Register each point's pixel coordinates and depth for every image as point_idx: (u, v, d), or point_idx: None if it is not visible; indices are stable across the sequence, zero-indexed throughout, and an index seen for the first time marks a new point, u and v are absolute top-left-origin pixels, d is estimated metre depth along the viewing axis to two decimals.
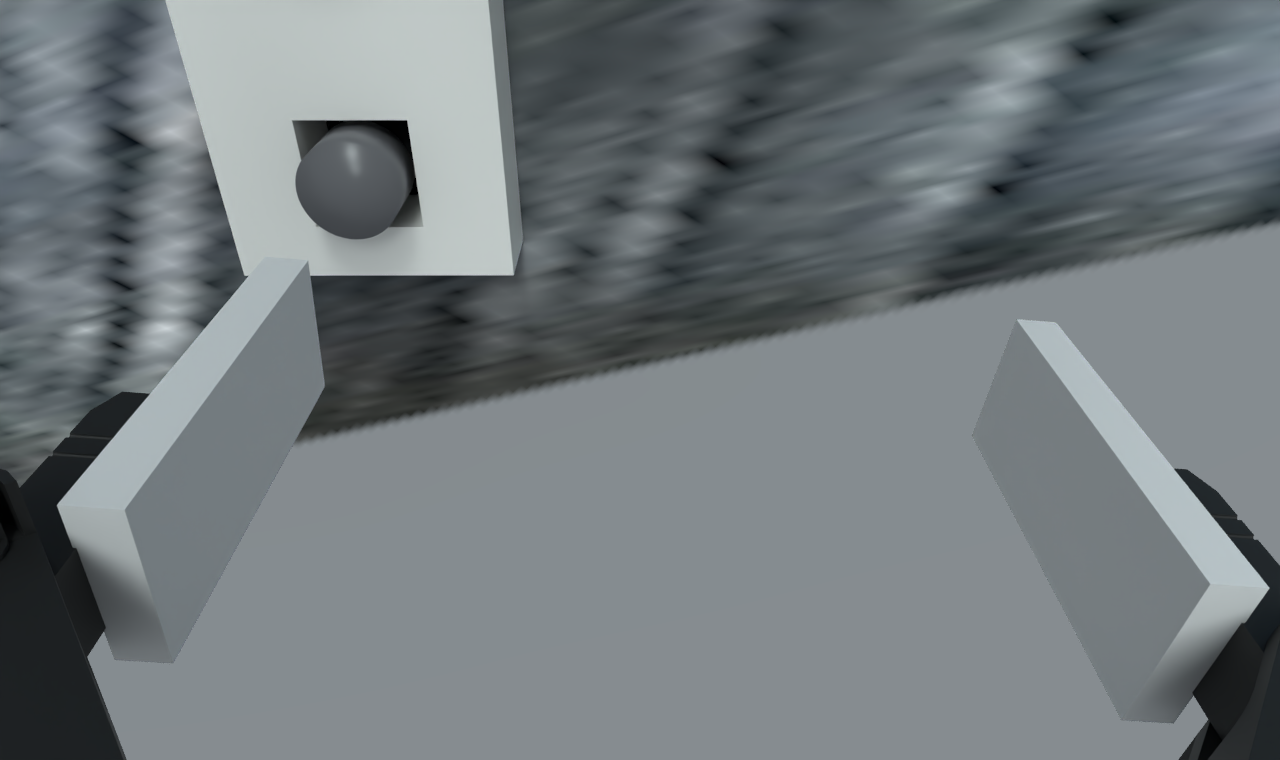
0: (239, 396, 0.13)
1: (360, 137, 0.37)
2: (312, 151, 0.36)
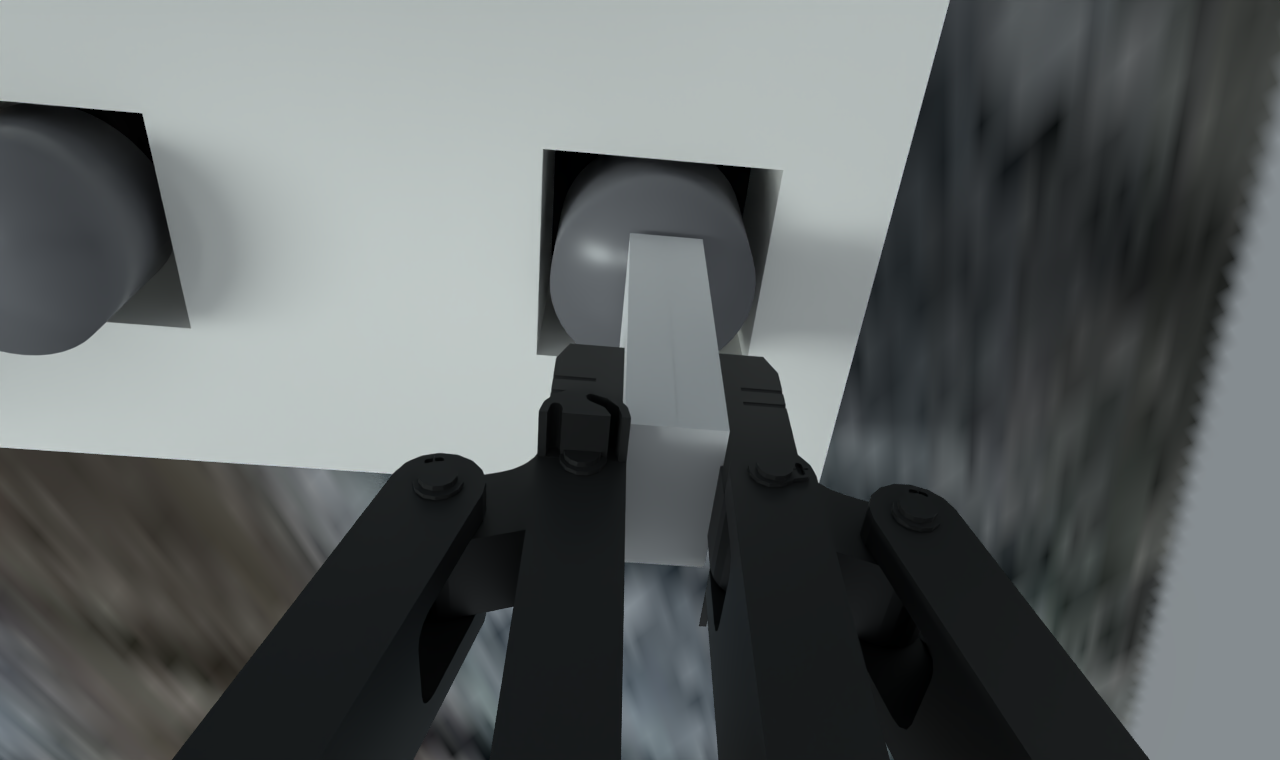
0: None
1: (560, 231, 0.19)
2: (566, 325, 0.19)
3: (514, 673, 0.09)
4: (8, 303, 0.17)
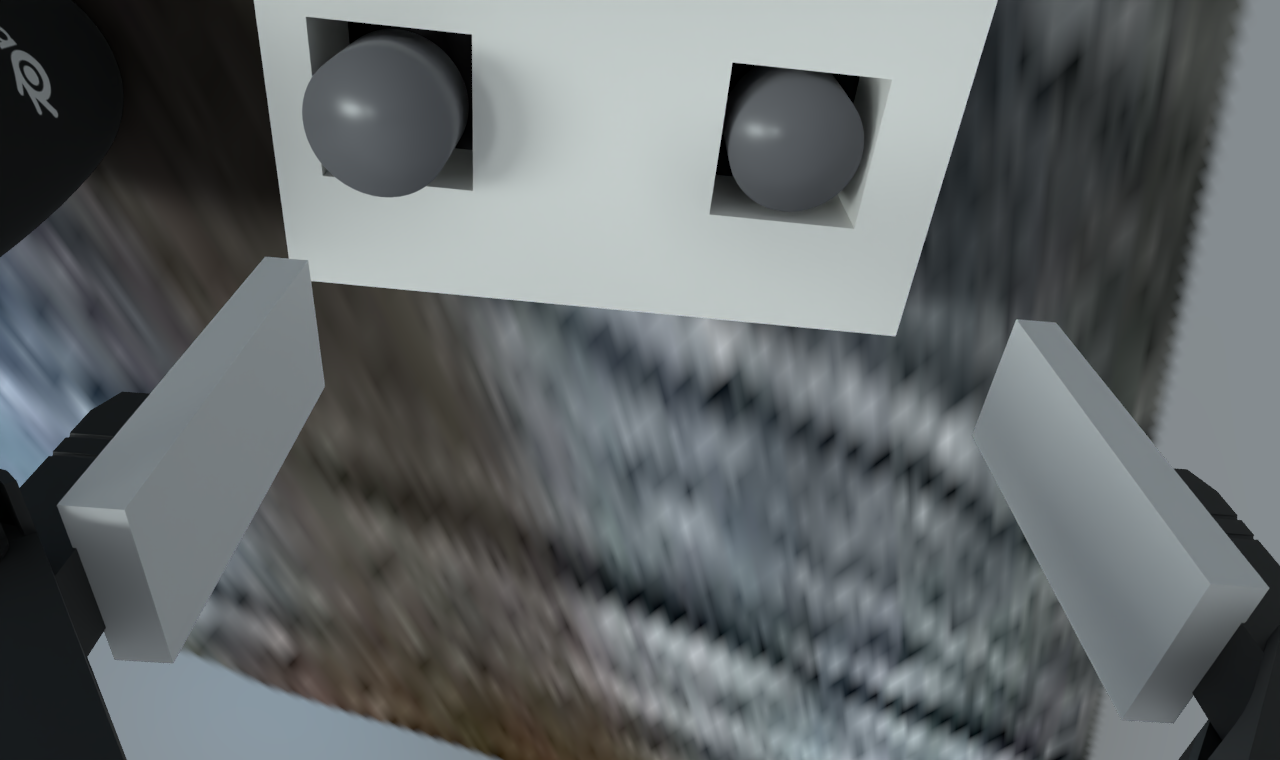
0: (239, 396, 0.13)
1: (734, 112, 0.29)
2: (736, 175, 0.29)
3: None
4: (379, 159, 0.26)
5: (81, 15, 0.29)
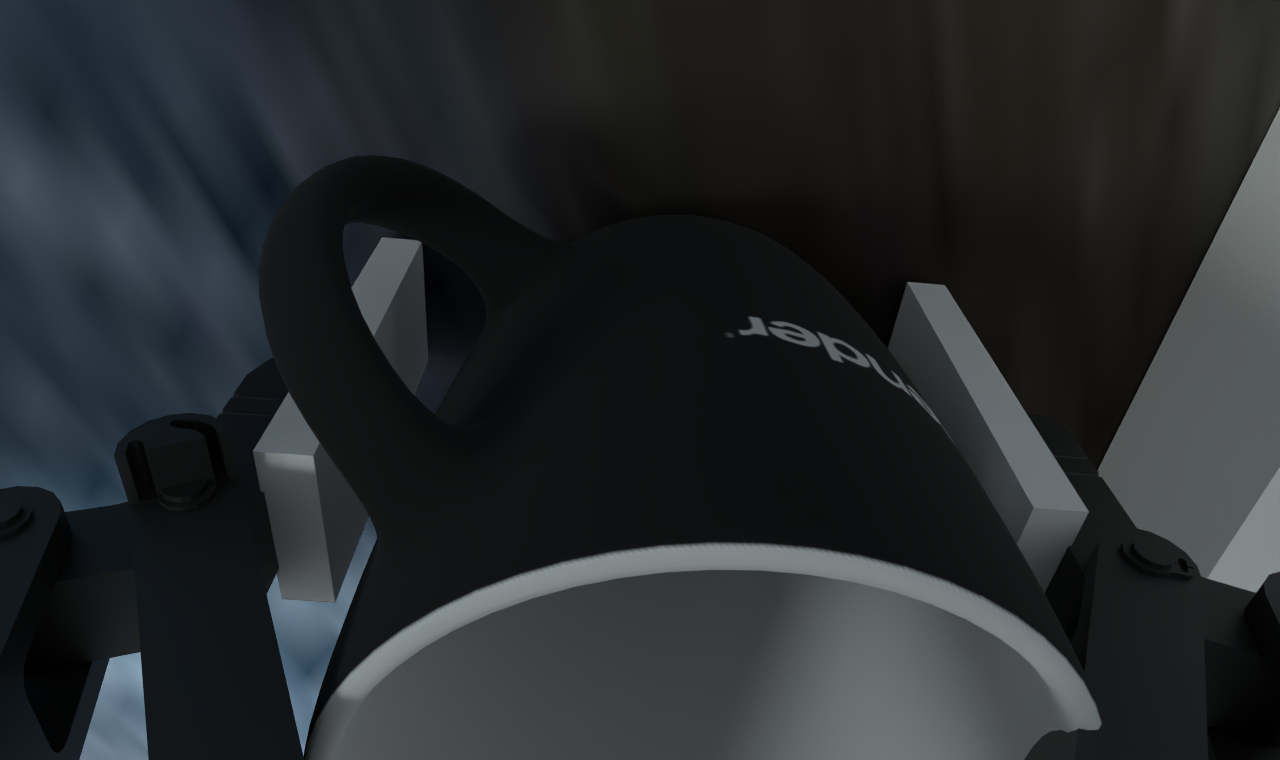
0: None
1: None
2: None
3: (162, 746, 0.08)
4: None
5: None
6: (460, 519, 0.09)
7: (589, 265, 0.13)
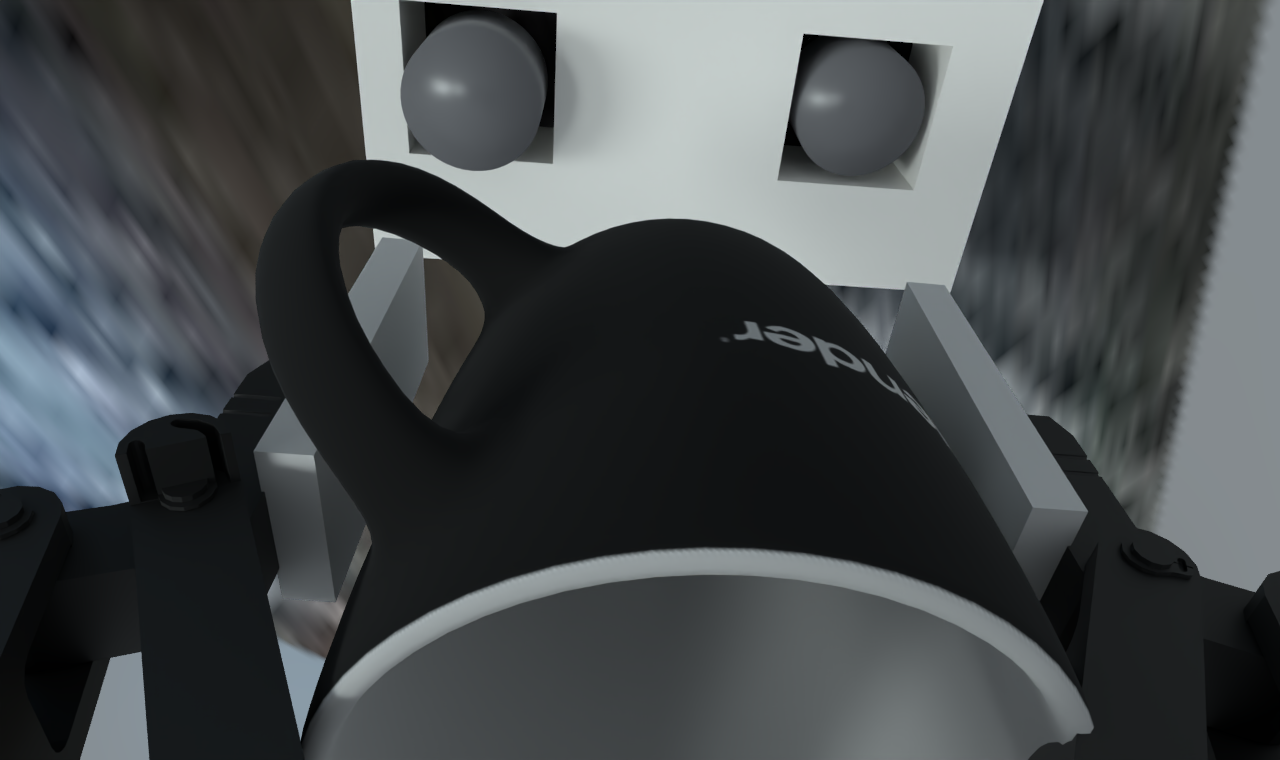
0: None
1: (799, 82, 0.30)
2: (803, 142, 0.30)
3: (163, 746, 0.08)
4: (472, 134, 0.28)
5: None
6: (454, 522, 0.09)
7: (587, 269, 0.13)
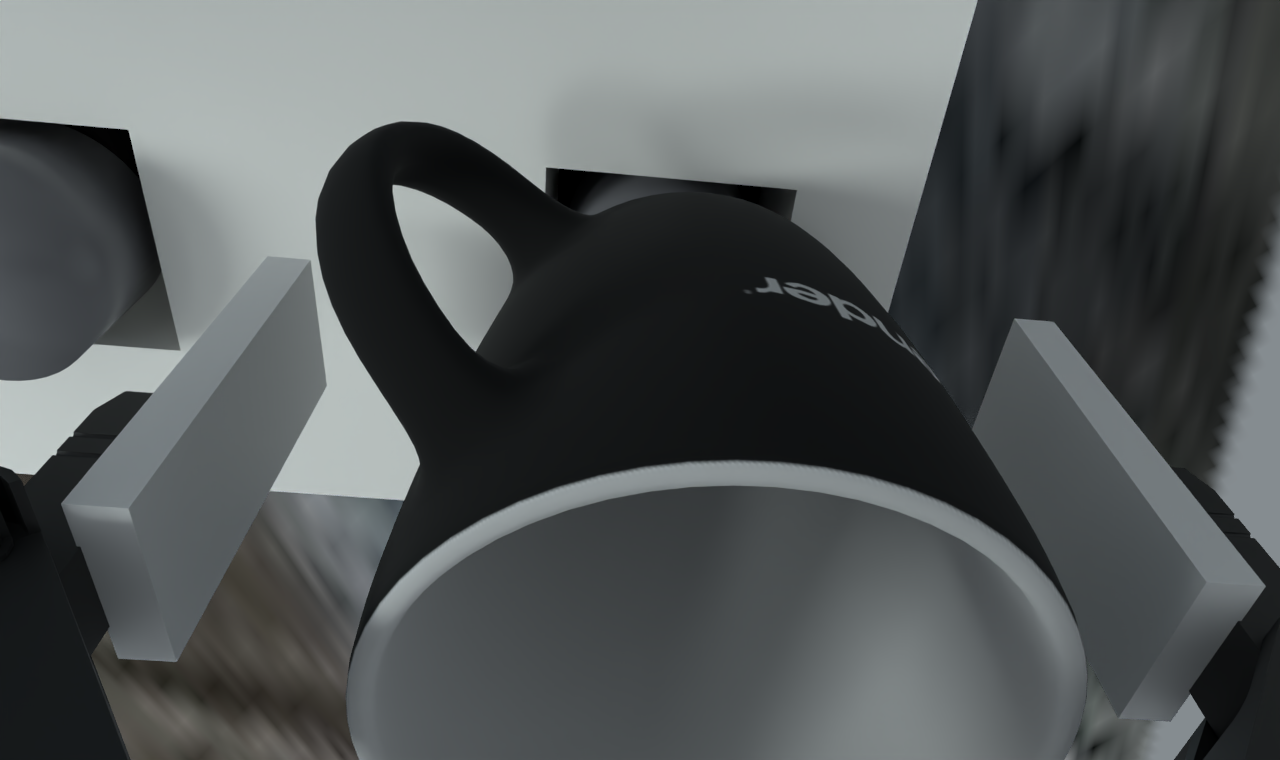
0: (242, 395, 0.13)
1: None
2: None
3: None
4: None
5: None
6: (501, 444, 0.09)
7: (613, 233, 0.14)
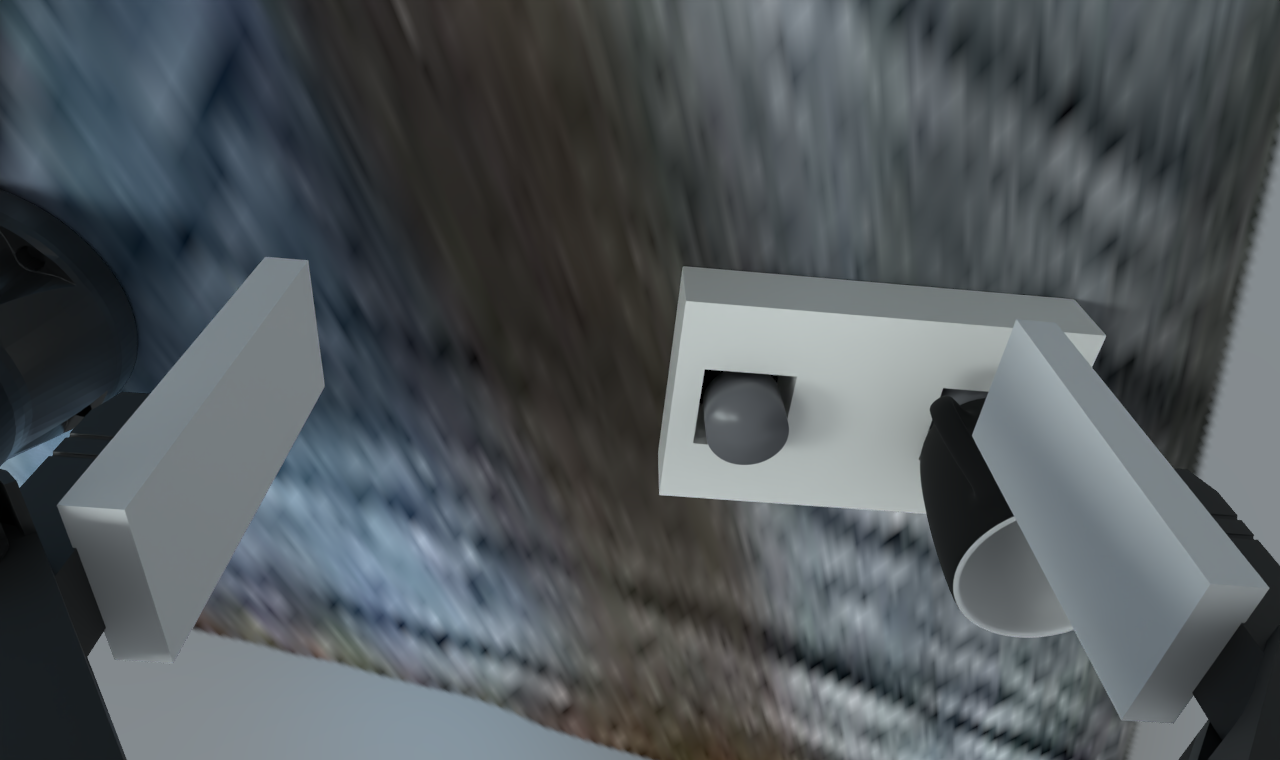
0: (239, 396, 0.13)
1: None
2: None
3: None
4: (744, 446, 0.46)
5: None
6: None
7: None
